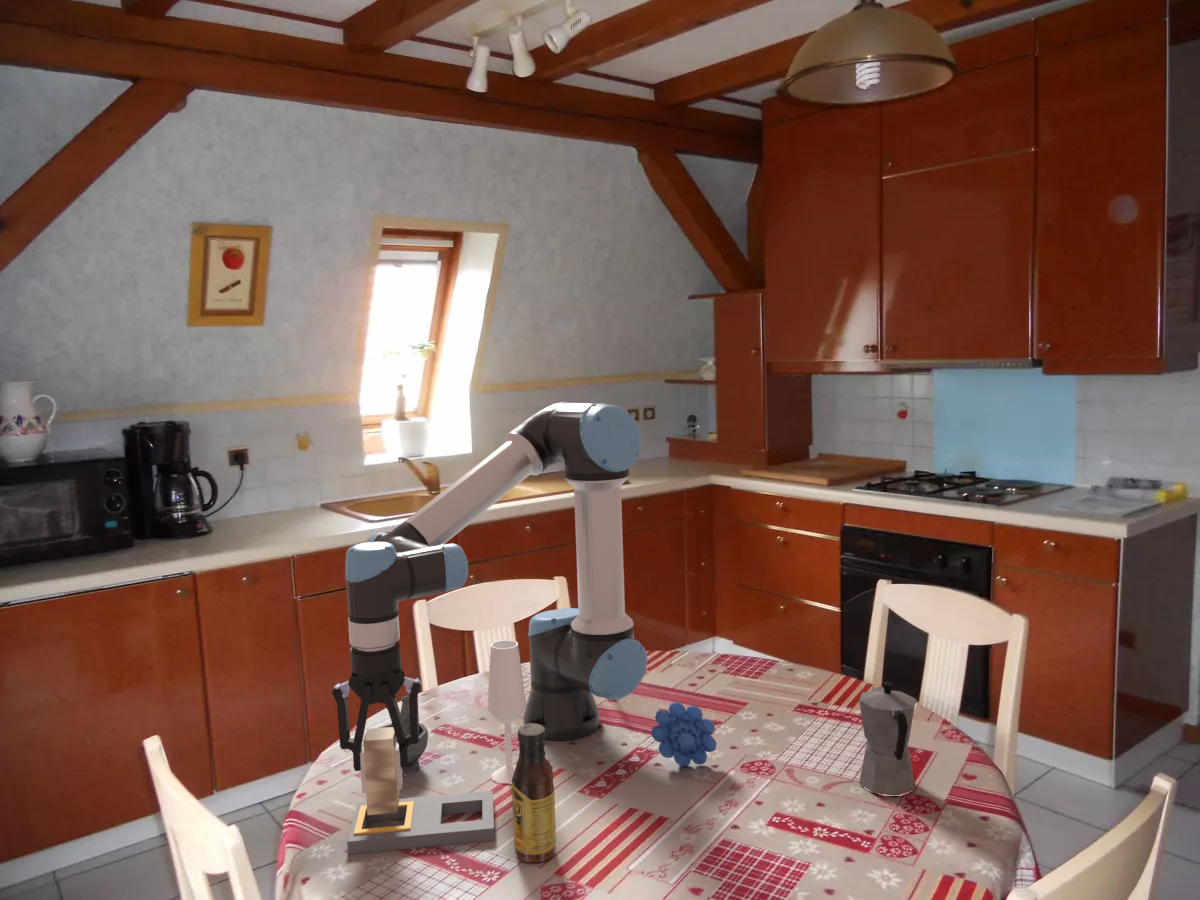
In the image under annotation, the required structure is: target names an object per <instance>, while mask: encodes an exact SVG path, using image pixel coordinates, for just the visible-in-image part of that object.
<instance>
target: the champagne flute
mask: <svg viewBox="0 0 1200 900" xmlns="http://www.w3.org/2000/svg"><path fill="white" fill-rule="evenodd" d="M489 653H490V654H489V671H488V672H489V673H488V687H487V688H488V690H487V694H488V695H487V710H488V711H489V714H491V716H492V717H493V719H496V720H497V721H498V722H499V723H500V724H503V725H504V726H503V728H504V751H505V753H504V754H505V755H504V756H505V765H504V766H502V767H500V768H498V769H497V770H494V771H493V772H494V773H493V772H492V773H493V774H492V773H491V775H492V779H493V780H495V781H497V782H500V783H512V778H513V775H514V771H515V768H516V765H515V764H513V748H512V747H513V743H512V741H513V740H512V723H514V722H515V721H516V720H517V719H518V718H519V717H520V716H521V715H522V714H523V713H524V711H525V708H526V704H527V700H526V693H525V687H524V678H523V671H522V663H521V657H520V649H519V643H518V641H515V640H512V639H501V640H500V639H499V640H496V641H494V642H492V643H491V644H490V651H489Z"/></svg>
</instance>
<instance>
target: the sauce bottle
mask: <svg viewBox="0 0 1200 900" xmlns="http://www.w3.org/2000/svg"><path fill="white" fill-rule="evenodd" d="M545 737H546V736H545V728H544V726H542V725H539V724H526V725H524V724H523V725H522V726H520V727H518V730H517V740H518V741H519V742H518V746H519V749H518V750H519V753H518V760H517V762H516V765H515V766H516V768H515V771H514V775H513V778H512V785H511V795H512V821H513V822H512V824H513V846H514V850H515V854H516V856H517V857H518V859H519V860H520V861H522V862H525V863H533V864H534V863H542V862H545V861H547V860H549V859H551V858H552V857H553V856H554V853H555V850H556V841H557V837H556V836H557V835H556V834H557V833H556V805H555V804H556V801H555V800H556V799H555V796H556V795H555V785H554V771H553V767H552V765H551V763H550V762H549V760H548V759H547V758H546V751H545V748H546V747H545V740H546V739H545Z"/></svg>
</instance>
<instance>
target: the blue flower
mask: <svg viewBox="0 0 1200 900" xmlns="http://www.w3.org/2000/svg"><path fill="white" fill-rule="evenodd" d="M703 715H704V714H703V711H702V710H701V708H699V706H697V705H693V704H692V705H690V706H687V707H685V706H684V705H683V704H682V703H681V702H678V701H674V702H672V703H670V704H669V708H668V710H666V709H660V710H658V711H656V713H655V717H654V719H655V721H656V723H657V724H656V725H654V726H652V728H651V732H650V734H651V737H652V738H653V739H654V741H656V742H657V743H659V746H658V752H659V754H660V755H661V756H662V757H663V758H666V759H671V758H673V759H674V762H675V763H676V764H677V765H678V766H679V767H682V768H684V767H685V768H686V767H688V766H689V765H690V764H691V760H692V761H693V763H694V764H697V765H703V764H705V763H706V762H707V759H708V755H707V753H713V752H714V751H715V750H716V749H717V741H716V740H715V737H713V736H712V735H713V734H714V733H715V730H716V726H715V724H714V722H713V721H712V720H711V719H708V718H704V717H703Z"/></svg>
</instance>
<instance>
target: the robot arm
mask: <svg viewBox="0 0 1200 900" xmlns="http://www.w3.org/2000/svg"><path fill="white" fill-rule="evenodd" d="M504 438H505V439H504V443H503V444H502V445H501V446H499V447H498V448H496V449H495V450H494V451H493V452H491V453H490V454H489V455H487V456H486V457H485V458H483V460H481V461H480V462H479V463H477V464H476V465H475V466H473V467H472V468H470V469H469V470H468V471H467V472H465V474H463V475H462V476H461V477H459V478H458V479H456V481H454V482H453V483H452V484H451V485H449V486H447V488H445V489H444V490H443V491H441V492H440V493H439V494H438V495H437V496H434V498H432V499H431V500H430V501H429V502H428V503H426V504H425V505H424V506H422V507H421V508H420V509H419V510H417V511H415V512H414V513H413V514H412V515H410V516H409V517H408V518H407V519H405V520H404V521H403V522H401V524H399V525H398V526H396V527H395V528H394V529H393V530H391V531H381V532H376V533H374V534H372V535H370V536H369V537H368V538H367V539H366V541H365V542H361V543H357V544H355V545H352V546H351V547H349V548H348V549H347V550H346V553H345V562H344V563H345V567H344V568H345V570H344V572H345V573H344V579H345V586H346V587H345V588H346V598H347V611H348V614H347V615H348V619H347V620H348V637H349V639H348V641H349V645H351V647H350V649H349V654H350V672H351V673H350V676H349V679H348V680H346V681H345V682H342V683H340V682H336V683H335V684H334V686H333V689H332V692H331V693H332V696H333V698H334V700H335V702H336V707H337V720H338V721H337V722H338V723H337V724H338V735H339V737H338V738H339V747H340V749H341V750H350V751H351V753H352V761H353V769H354V771H355V772H360V776H361V777H360V778H361V791H362V794H366V781H365V763H364V745H363V740H364V736H365V731H366V723H367V718H368V713H369V708H370V705H375V704H377V703H378V704H381V705H382V704H383V705H384V704H385V707H386V709H387V711H388V715H389V718H390V721H391V723H392V725H393V728H394V732H395V735H396V738H397V741H398V743H396V746H395V769H396V789H397V790H399V791H401V790H402V788H403V787H402V786H403V782H404V779H403V777H404V776H402V767H407V765H408V761H409V757H408V746H409V745H411V744H416V743H417V742H418V739H419V723H420V722H419V721H420V720H419V717H420V713H419V692H420V689H421V686H422V685H421V684H422V679H421V678H420V677H415V678H412V677H409V676H406V675H405V672H404V671H403V669H402V656H401V655H402V654H401V653H402V652H401V644H400V642H399V640H400V636H401V635H400V634H401V633H400V619H399V618H400V617H399V602H402V601H407V600H411V599H418V598H420V597H421V598H423V597H426V596H433V595H437V594H440V593H443V594H445V593H447V592H451V591H455V590H457V589H461V588H462V587H463V586H464V585H465V584H466V583H467V580H468V577H469V562H468V558H467V554H465V553H466V552H465V551H464V549H463V548H462V547H461V546H460V545H458V544H457V543H454V542H453V543H448V542H449V541H450V540H451V539H452V538H453V537H455V536H457V534H459V533H460V532H461V531H463V530H464V528H466V527H467V526H469V525H470V524H471V523H472V522H473V521H475V520H477V518H478V517H479V516H481V515H482V514H483V513H484V512H486V511H487V510H488V509H489V508H491V507H492V506H493V505H495V503H497V502H498V501H500V500H501V499H502V498H503V497H504V496H506V495H507V494H508V493H509V492H511V491H512V490H513V489H514V488H516V487H517V486H518V485H519V484H520V483H522V482H523V481H524V480H525V479H527V478H528V477H529V476H530V475H531V476H539V475H540V474H541V473H542V472H544V471H545V470H547V469H548V468H550V467H552V466H555V465H560V464H564V479H565V481H566V482H568V483H569V484H570V485H571V487H572V488H573V495H574V496H573V498H574V499H573V500H574V522H575V523H574V525H575V545H576V546H575V548H576V551H575V552H576V572H577V573H576V581H577V602H578V603H577V604H578V608H573V607H568V608H565V607H564V608H556V609H550V610H546V611H542V612H539V613H537V614H534V615H533V616H532V617H531V619H530V620H529V624H528V634H527V636H528V642H529V643H528V646H529V648H528V649H529V665H530V666H529V667H530V669H529V670H530V671H529V672H530V673H529V674H530V691H529V695H528V698H527V700H526V707H525V709H524V711H523V716H522V717H523V718H522V719H523V720H522V721H523V725H526V724H539V725H542V726H544V728H545V736H546V737H545V740H548V741H567V740H575V739H579V738H583V737H585V736H588V735H589V734H591V733H594V732H596V730H597V729H598V728H599V726H600V713H599V712H600V711H599V708H598V706H597V702H596V700H595V698H594V696H596V697H597V698H598V697H599V698H604V699H607V700H610V701H612V700H613V701H616V700H621V699H624V698H626V697H628V696H629V695H630V694H632V692H634V691H636V689H637V687H638V685H639V684H640V683H641V682H642V680H643V678H644V676H645V674H646V672H647V667H648V655H647V654H648V653H647V651H646V649H645V647H644V646H643V645H642V643H641V642H640V641H639V640H637V639H636V638H635V635H634V631H635V629H634V628H635V627H634V620H633V619H632V618H631V617H630V616H629V615H628V614H627V613H626V610H625V609H626V603H625V602H626V601H625V573H624V572H625V570H624V543H623V542H624V541H623V513H622V512H623V508H622V507H623V506H622V486H623V485H624V483H625V482H626V481H627V480H628V479H629V477H630V468H631V467H632V466H633V465H634V464H636V463H635V462H637V457H639V455H640V453H641V449H642V435H641V430H640V428H639V425H638V422H637V420H635V417H633V415H632V414H630V413H629V412H628V410H627V409H625V408H623V407H621V406H618V405H616V404H615V405H614V404H608V403H607V402H581V401H580V402H578V401H577V402H576V401H560V402H557V403H553V404H551V405H548V406H546V407H545V408H543V409H540V410H539V411H538V412H536V413H534V414H533V415H531V416H529V417H528V418H527V419H525V420H523V422H521V423H520V424H518V426H516V427H515V428H513V429H512V430H511V431H509V432H508V433H507V434H506V435H505V437H504ZM402 686H404V687H405V691H406V693H408V696H409V715H410V734H408V735H407V733H406V730H405V727H404V724H403V720H402V717H401V714H400V712H401V709H400V708H399V704H398V700H397V694H398V693H399V691H400V690H401V688H402ZM350 689H351V691H352V692H353V693H354V694H355V695H356V696H357V697H358V698H359V699H360V705H359V709H358V710H359V711H358V716H357V717H358V718H357V722H356V727H355V733H354V737H353V738H352V737H351V733H350V732H351V731H350V718H349V716H350V715H349V705H348V703H349V702H348V696H349V695H350Z"/></svg>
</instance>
